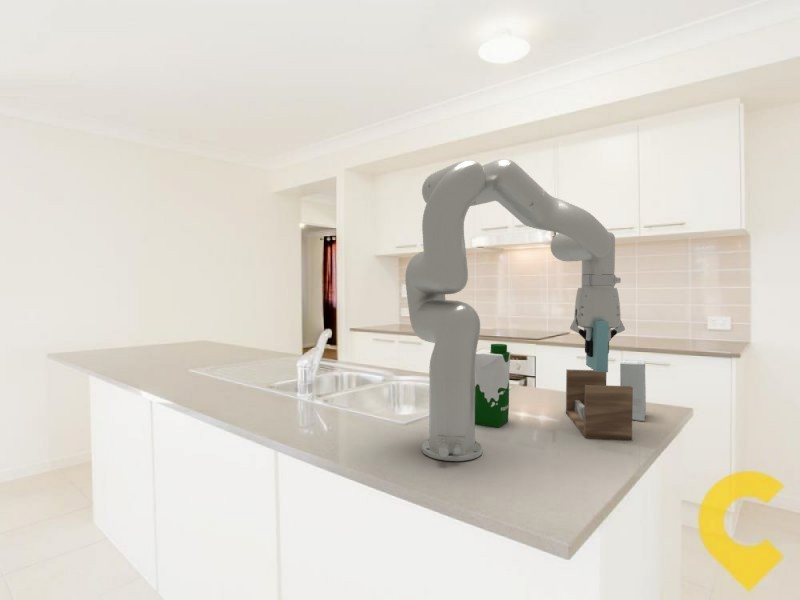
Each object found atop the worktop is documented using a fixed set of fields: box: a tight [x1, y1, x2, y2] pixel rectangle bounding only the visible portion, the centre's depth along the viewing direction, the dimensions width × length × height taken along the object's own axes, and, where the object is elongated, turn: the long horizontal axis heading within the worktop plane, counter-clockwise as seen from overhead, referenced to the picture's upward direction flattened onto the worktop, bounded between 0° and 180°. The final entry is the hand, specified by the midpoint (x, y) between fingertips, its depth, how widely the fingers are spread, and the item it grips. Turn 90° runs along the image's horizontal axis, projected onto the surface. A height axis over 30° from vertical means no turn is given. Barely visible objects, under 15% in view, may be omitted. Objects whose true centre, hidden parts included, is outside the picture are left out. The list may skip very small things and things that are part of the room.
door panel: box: [585, 321, 609, 373], centre depth 119 cm, size 10×3×12 cm, turn 172°
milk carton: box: [475, 343, 511, 429], centre depth 122 cm, size 9×9×20 cm
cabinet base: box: [565, 369, 633, 441], centre depth 119 cm, size 22×10×12 cm, turn 172°
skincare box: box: [619, 359, 647, 422], centre depth 128 cm, size 8×6×15 cm
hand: (596, 355), depth 119 cm, fingers closed on door panel, 2 cm apart
